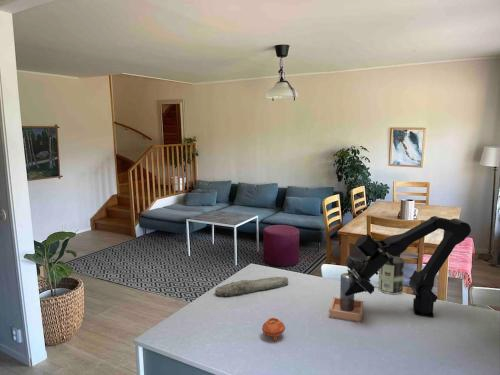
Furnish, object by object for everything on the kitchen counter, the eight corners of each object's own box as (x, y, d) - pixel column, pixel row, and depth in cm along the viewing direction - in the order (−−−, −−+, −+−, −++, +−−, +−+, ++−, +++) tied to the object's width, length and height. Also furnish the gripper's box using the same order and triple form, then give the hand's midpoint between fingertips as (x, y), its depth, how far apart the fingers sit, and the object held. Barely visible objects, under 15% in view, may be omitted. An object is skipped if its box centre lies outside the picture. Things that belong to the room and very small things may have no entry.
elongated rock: (293, 290, 170) (282, 283, 179) (293, 278, 169) (283, 272, 178) (219, 299, 157) (212, 291, 166) (219, 287, 156) (212, 280, 165)
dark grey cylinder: (356, 307, 145) (357, 275, 143) (349, 312, 141) (350, 279, 139) (344, 303, 148) (345, 271, 146) (337, 308, 145) (338, 275, 143)
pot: (290, 339, 126) (285, 322, 125) (268, 347, 125) (263, 330, 123) (282, 327, 134) (278, 310, 132) (262, 334, 133) (258, 318, 131)
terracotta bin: (363, 308, 148) (363, 301, 148) (361, 322, 138) (361, 314, 137) (333, 304, 152) (333, 297, 152) (329, 317, 142) (329, 310, 141)
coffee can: (400, 285, 169) (401, 255, 167) (404, 295, 159) (406, 263, 157) (376, 284, 172) (377, 254, 169) (379, 293, 162) (380, 262, 159)
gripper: (352, 242, 150) (324, 269, 152) (366, 258, 132) (334, 288, 134) (371, 260, 151) (343, 287, 153) (388, 279, 133) (356, 308, 135)
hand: (343, 292), depth 144 cm, fingers closed on dark grey cylinder, 5 cm apart
